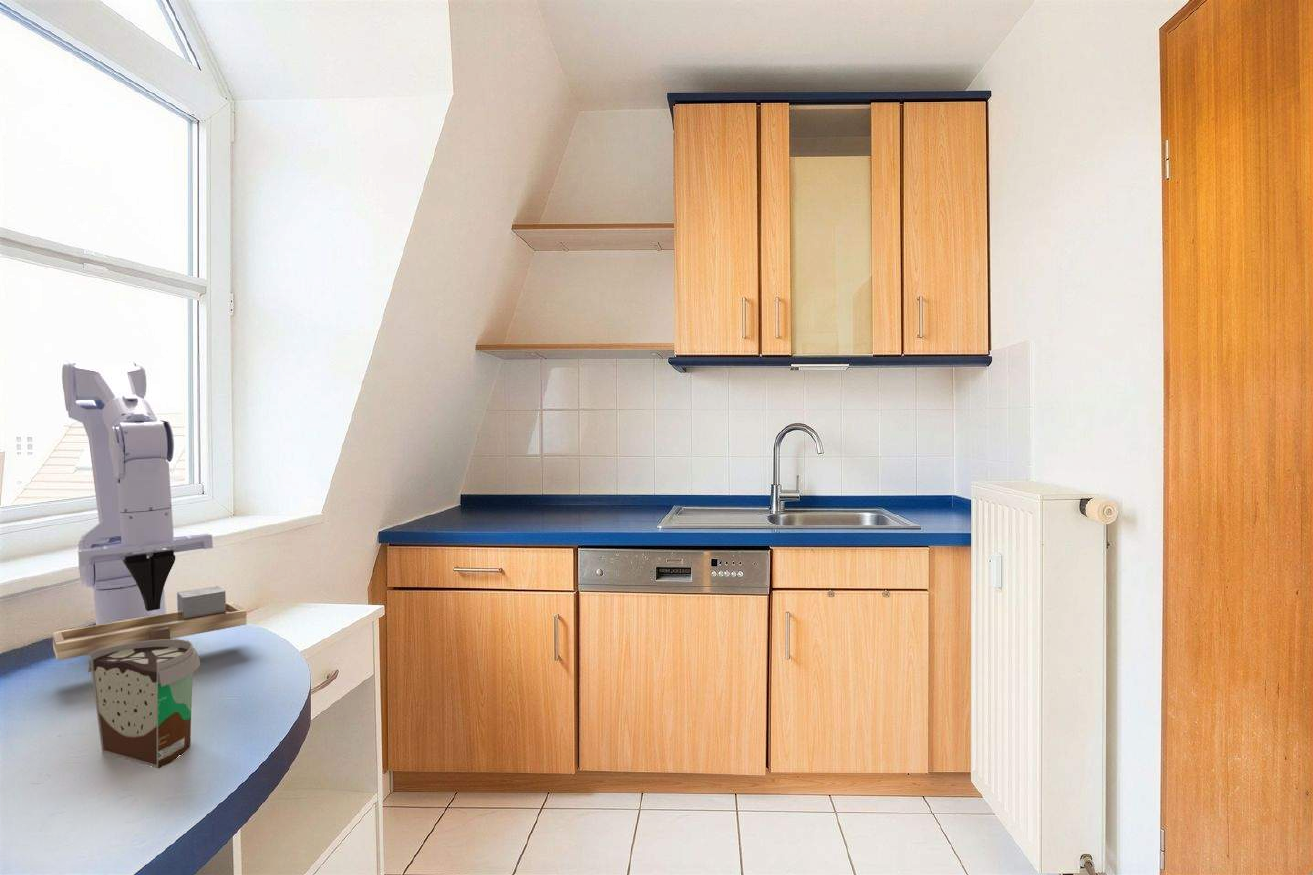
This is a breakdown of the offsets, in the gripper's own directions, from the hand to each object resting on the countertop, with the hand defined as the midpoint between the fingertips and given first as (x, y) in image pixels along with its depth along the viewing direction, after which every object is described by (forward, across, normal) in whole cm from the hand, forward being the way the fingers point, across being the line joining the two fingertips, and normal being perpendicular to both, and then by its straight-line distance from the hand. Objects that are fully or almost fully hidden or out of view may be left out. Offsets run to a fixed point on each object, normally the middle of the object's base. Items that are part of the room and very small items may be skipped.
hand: (152, 608), depth 93 cm
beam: (+3, 0, 0) cm, 3 cm away
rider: (+3, +6, 0) cm, 6 cm away
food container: (+8, -4, -31) cm, 32 cm away
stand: (+8, 0, 0) cm, 8 cm away
